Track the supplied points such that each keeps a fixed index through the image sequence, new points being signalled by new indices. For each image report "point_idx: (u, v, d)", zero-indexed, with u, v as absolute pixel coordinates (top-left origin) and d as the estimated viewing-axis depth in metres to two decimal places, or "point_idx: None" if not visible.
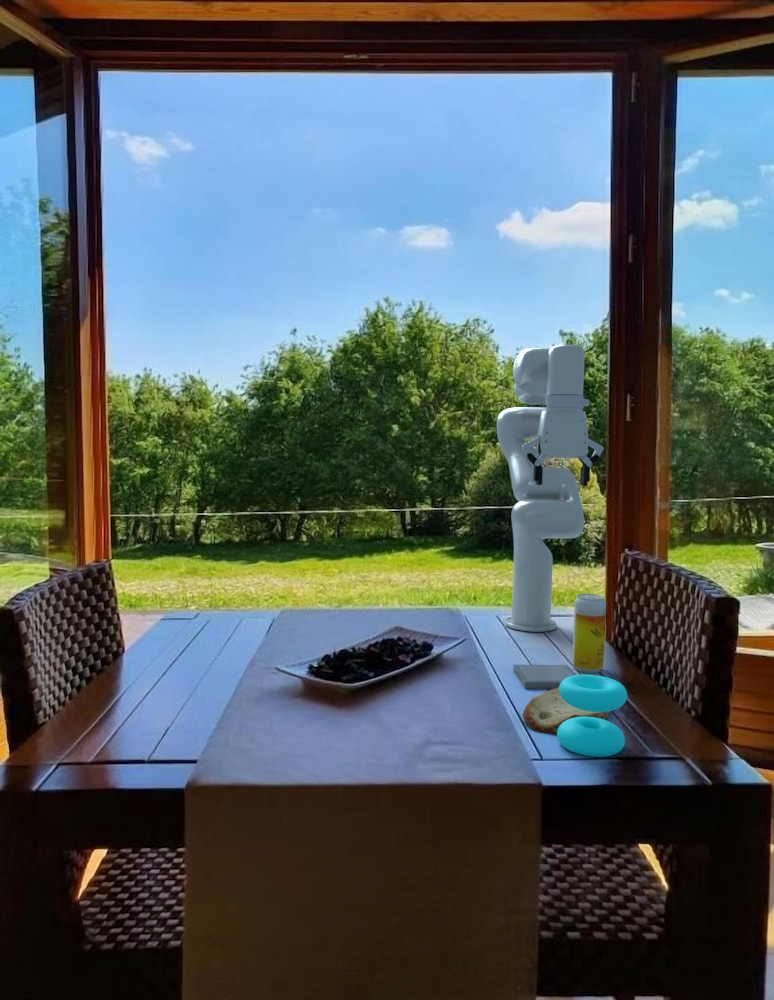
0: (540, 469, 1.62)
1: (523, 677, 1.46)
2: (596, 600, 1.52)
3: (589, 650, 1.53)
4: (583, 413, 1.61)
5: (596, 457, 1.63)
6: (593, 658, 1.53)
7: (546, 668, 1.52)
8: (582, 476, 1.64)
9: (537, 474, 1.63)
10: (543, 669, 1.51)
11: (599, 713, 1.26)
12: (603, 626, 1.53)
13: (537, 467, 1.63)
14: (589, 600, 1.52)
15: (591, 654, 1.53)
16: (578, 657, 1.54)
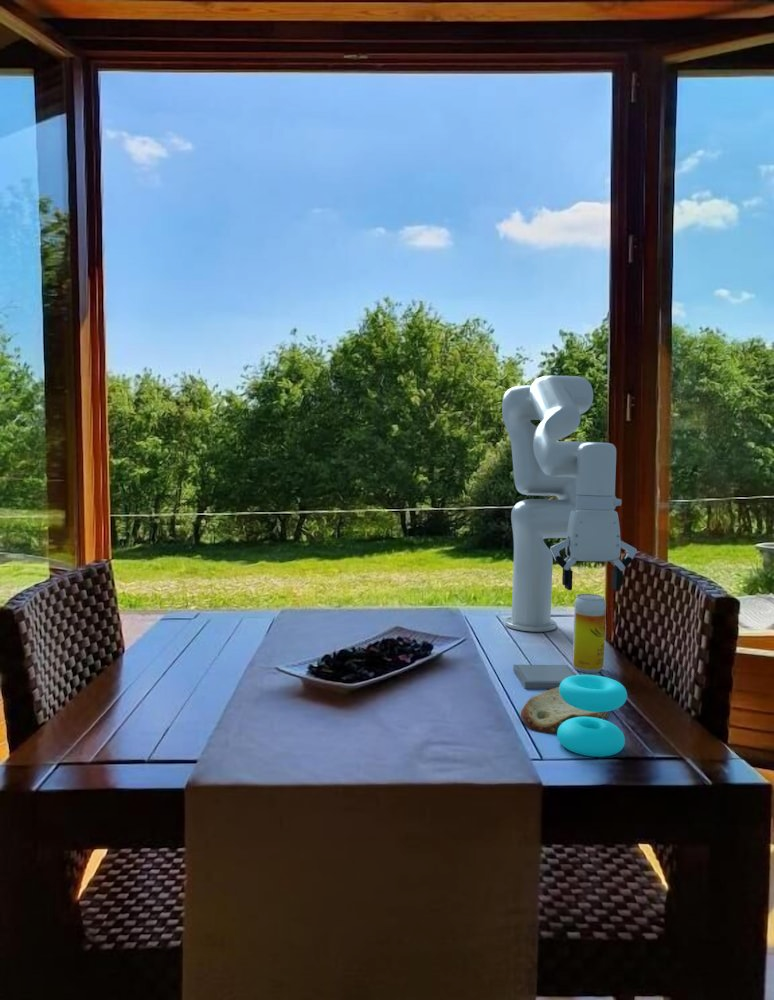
0: (570, 573, 1.52)
1: (523, 677, 1.46)
2: (596, 600, 1.52)
3: (589, 650, 1.53)
4: (615, 514, 1.51)
5: (629, 560, 1.53)
6: (593, 658, 1.53)
7: (546, 668, 1.52)
8: (614, 580, 1.54)
9: (566, 578, 1.53)
10: (543, 669, 1.51)
11: (597, 713, 1.26)
12: (603, 626, 1.53)
13: (566, 571, 1.53)
14: (589, 600, 1.52)
15: (591, 654, 1.53)
16: (578, 657, 1.54)
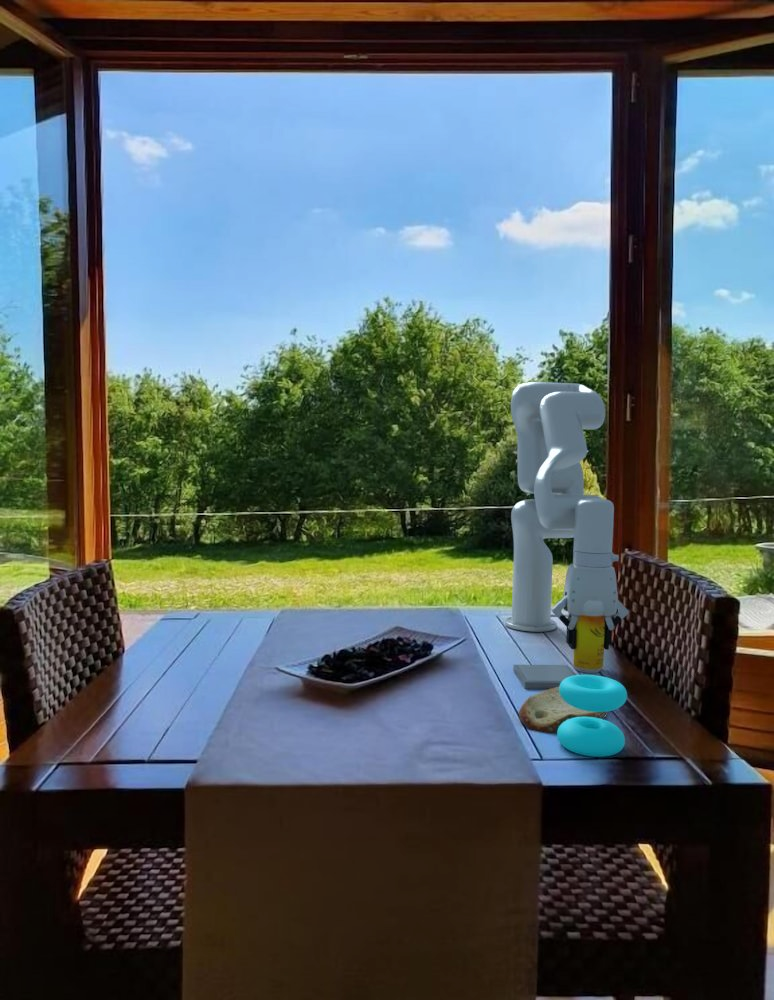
0: (574, 633, 1.54)
1: (523, 677, 1.46)
2: (596, 600, 1.52)
3: (589, 650, 1.53)
4: (612, 571, 1.52)
5: (618, 619, 1.54)
6: (593, 658, 1.53)
7: (546, 668, 1.52)
8: None
9: (570, 637, 1.55)
10: (543, 669, 1.51)
11: (595, 713, 1.26)
12: (603, 626, 1.53)
13: (570, 630, 1.54)
14: (589, 600, 1.52)
15: (591, 654, 1.53)
16: (578, 657, 1.54)
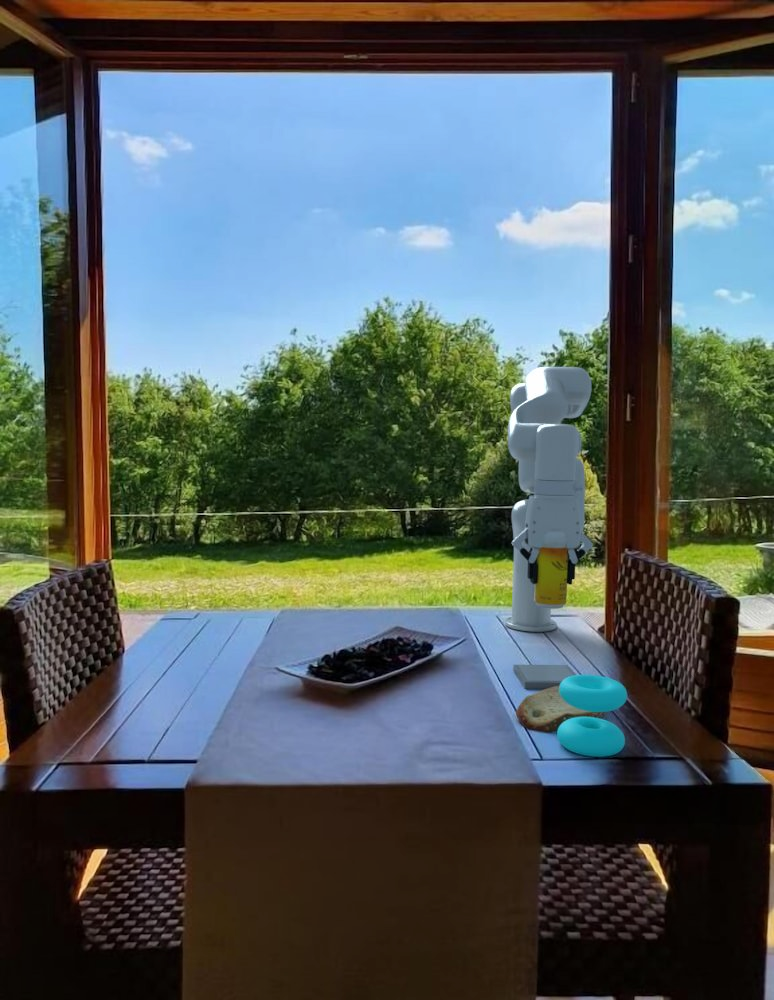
0: (535, 567, 1.45)
1: (523, 677, 1.46)
2: (558, 531, 1.44)
3: (551, 584, 1.44)
4: (575, 500, 1.44)
5: (582, 552, 1.46)
6: (555, 593, 1.44)
7: (546, 668, 1.52)
8: None
9: (531, 572, 1.46)
10: (543, 669, 1.51)
11: (592, 712, 1.26)
12: (566, 559, 1.45)
13: (531, 564, 1.46)
14: (551, 531, 1.44)
15: (553, 588, 1.44)
16: (539, 592, 1.46)
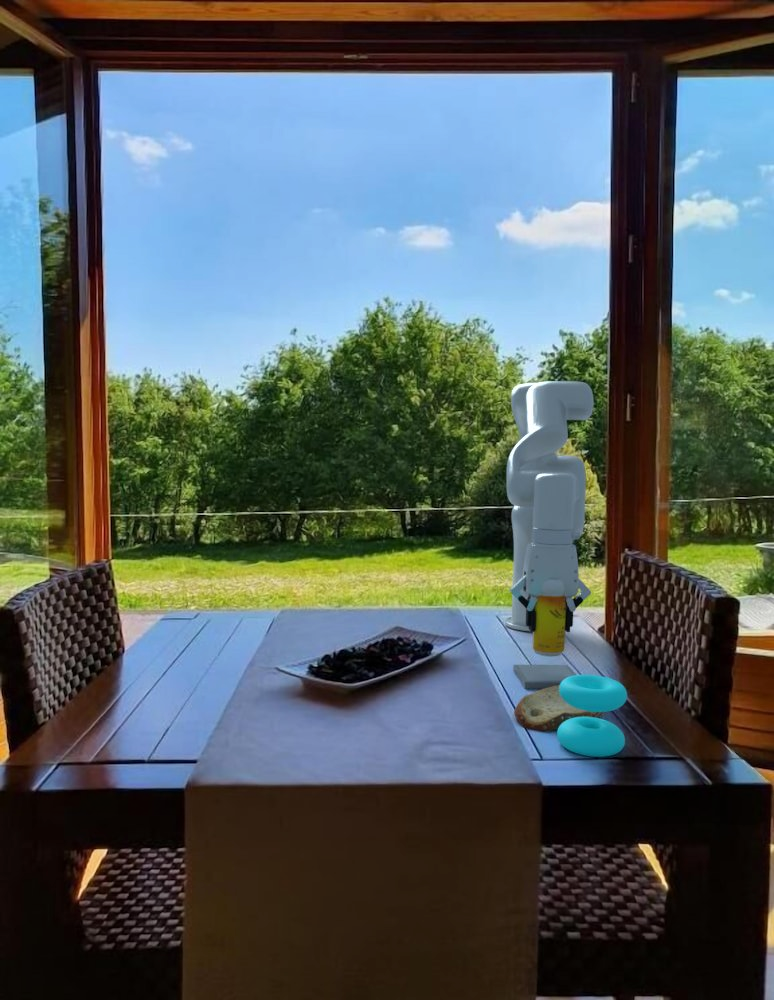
0: (533, 614, 1.46)
1: (523, 677, 1.46)
2: (556, 579, 1.44)
3: (549, 633, 1.45)
4: (573, 549, 1.45)
5: (580, 600, 1.47)
6: (553, 641, 1.45)
7: (546, 668, 1.52)
8: None
9: (530, 619, 1.47)
10: (543, 669, 1.51)
11: (591, 712, 1.26)
12: (564, 607, 1.46)
13: (530, 612, 1.47)
14: (549, 579, 1.45)
15: (551, 637, 1.45)
16: (538, 639, 1.46)
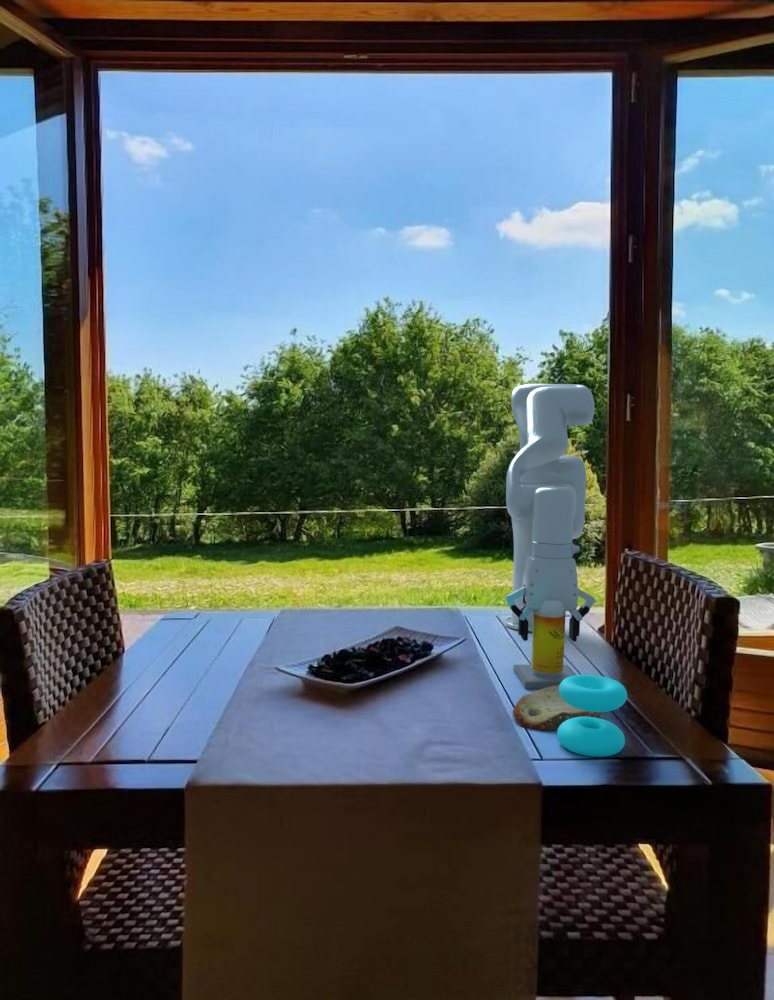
0: (525, 624, 1.46)
1: (523, 677, 1.46)
2: (555, 600, 1.45)
3: (548, 653, 1.45)
4: (572, 563, 1.45)
5: (587, 610, 1.47)
6: (552, 661, 1.46)
7: None
8: (571, 630, 1.48)
9: (522, 628, 1.47)
10: None
11: (589, 711, 1.26)
12: (563, 628, 1.46)
13: (522, 621, 1.47)
14: (548, 600, 1.45)
15: (550, 657, 1.45)
16: (537, 660, 1.47)
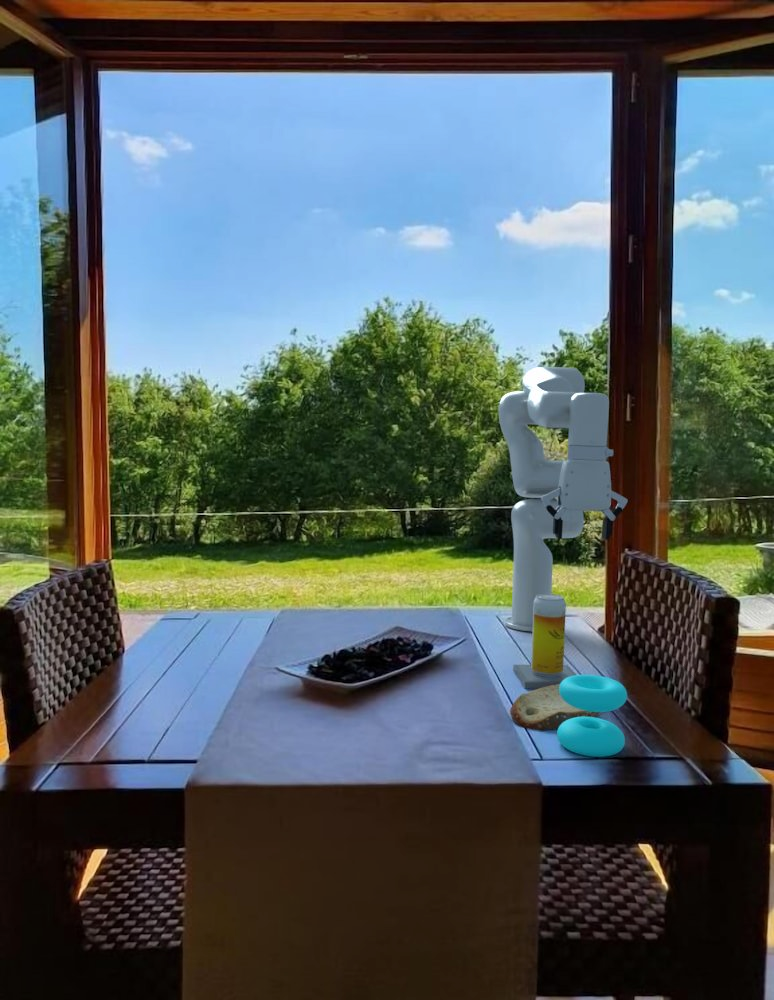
0: (560, 522, 1.55)
1: (523, 677, 1.46)
2: (555, 600, 1.45)
3: (548, 653, 1.46)
4: (606, 465, 1.53)
5: (619, 510, 1.55)
6: (552, 661, 1.46)
7: None
8: (604, 529, 1.56)
9: (557, 527, 1.55)
10: None
11: (586, 711, 1.27)
12: (562, 628, 1.46)
13: (557, 520, 1.55)
14: (547, 600, 1.45)
15: (550, 657, 1.46)
16: (537, 660, 1.47)
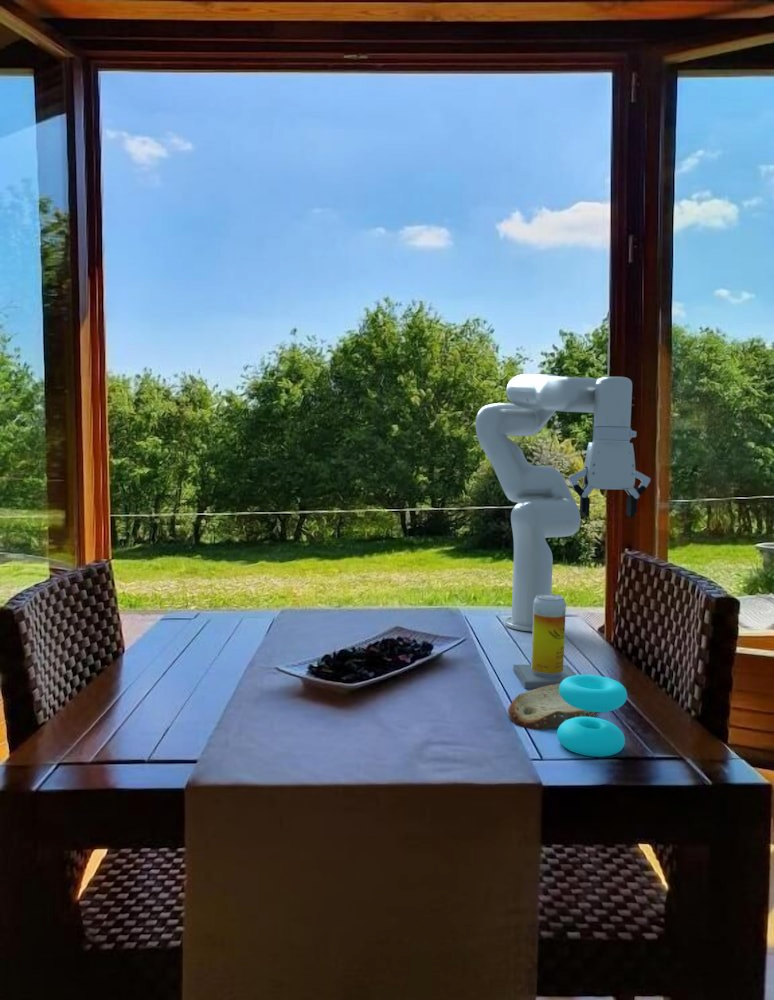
0: (587, 501, 1.62)
1: (523, 677, 1.46)
2: (555, 600, 1.45)
3: (548, 653, 1.46)
4: (631, 445, 1.61)
5: (643, 488, 1.63)
6: (552, 661, 1.46)
7: None
8: (629, 507, 1.63)
9: (584, 506, 1.63)
10: None
11: (584, 711, 1.27)
12: (562, 628, 1.46)
13: (584, 499, 1.62)
14: (547, 600, 1.45)
15: (550, 657, 1.46)
16: (537, 660, 1.47)
